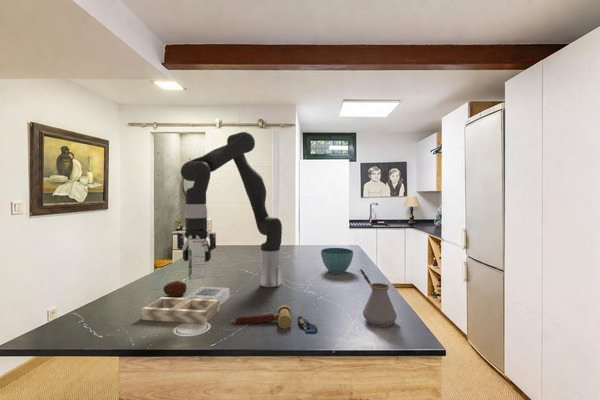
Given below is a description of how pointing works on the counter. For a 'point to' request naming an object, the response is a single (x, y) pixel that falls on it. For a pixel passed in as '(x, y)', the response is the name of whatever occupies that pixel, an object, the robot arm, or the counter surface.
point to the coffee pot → (378, 305)
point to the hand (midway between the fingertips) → (196, 260)
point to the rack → (181, 310)
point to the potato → (175, 288)
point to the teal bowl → (337, 259)
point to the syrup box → (196, 259)
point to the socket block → (211, 294)
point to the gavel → (268, 318)
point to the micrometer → (306, 325)
